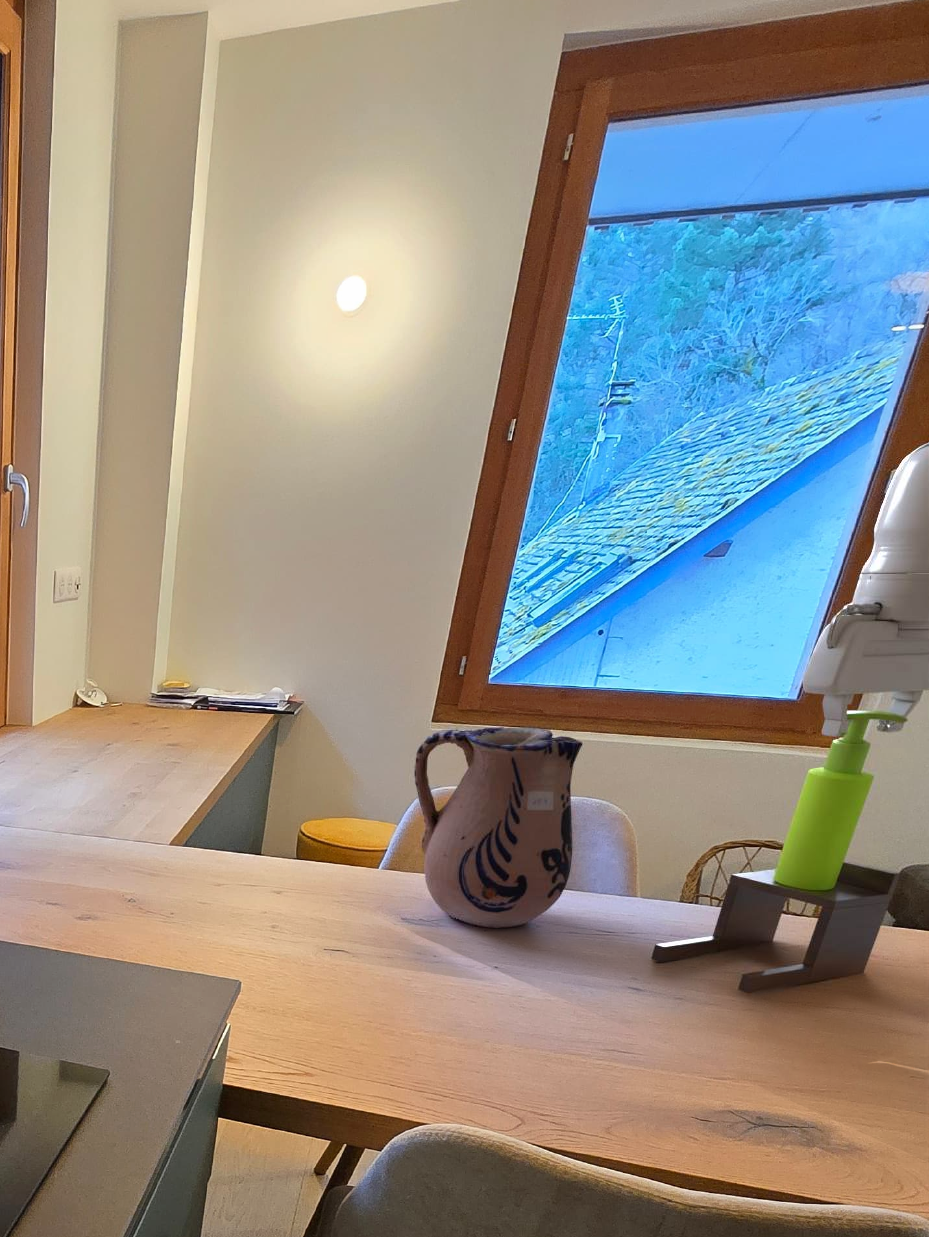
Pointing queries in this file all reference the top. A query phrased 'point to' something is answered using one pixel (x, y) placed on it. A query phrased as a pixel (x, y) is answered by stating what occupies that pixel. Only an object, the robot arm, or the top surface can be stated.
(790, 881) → the soap dispenser
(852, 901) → the stand
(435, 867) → the ceramic pitcher
